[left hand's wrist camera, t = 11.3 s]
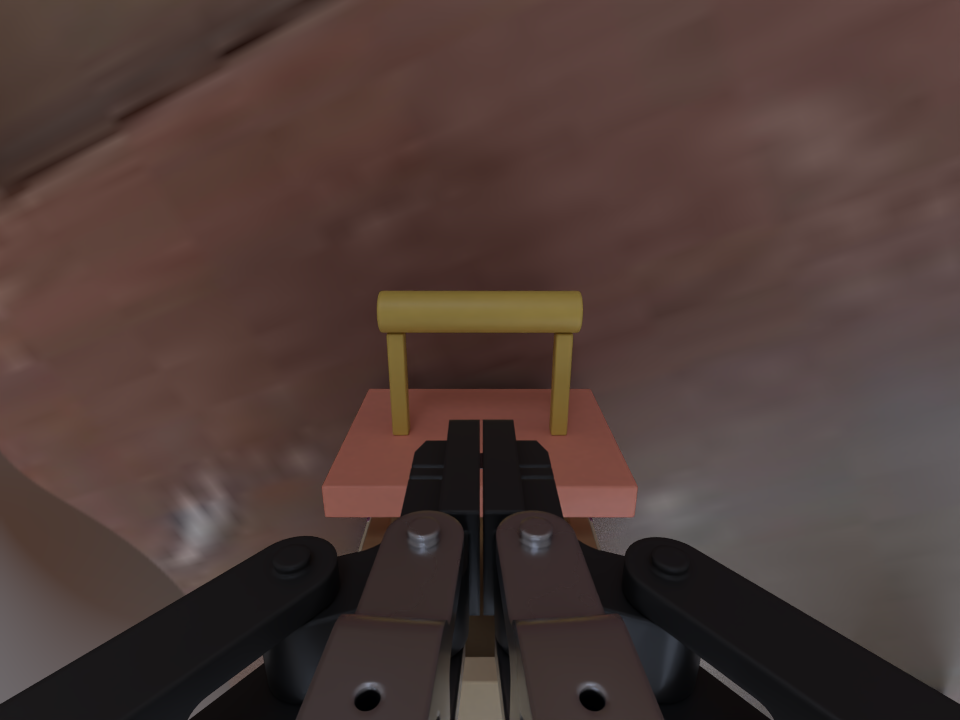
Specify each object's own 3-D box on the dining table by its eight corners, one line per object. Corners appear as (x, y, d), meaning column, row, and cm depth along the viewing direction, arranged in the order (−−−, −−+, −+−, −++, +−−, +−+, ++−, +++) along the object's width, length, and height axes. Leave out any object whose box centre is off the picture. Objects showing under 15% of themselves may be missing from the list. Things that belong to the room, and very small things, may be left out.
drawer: (359, 268, 22) (300, 320, 15) (600, 268, 22) (659, 320, 15) (389, 660, 30) (361, 821, 23) (569, 660, 30) (597, 821, 23)
